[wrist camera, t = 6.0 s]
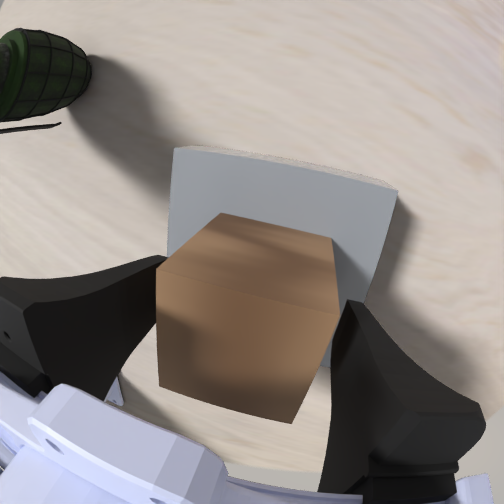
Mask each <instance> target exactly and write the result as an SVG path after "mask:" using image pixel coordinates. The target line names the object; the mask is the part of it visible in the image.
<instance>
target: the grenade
mask: <svg viewBox="0 0 504 504" xmlns="http://www.w3.org/2000/svg"><path fill="white" fill-rule="evenodd" d="M90 78H91V65H90V62H89V61H88V59H87V56H86V54H85V52H84V51H83V50H82V49H81V48H80V47H78V46H77V45H75V44H74V43H72V42H71V41H69V40H68V39H66V38H64V37H61V36H58V35H54V34H51V33H48V32H45V31H42V30H29V29H23V28H16V29H14V30H12V31H10V32H8V33H6V34H5V35H4V36H3V37H2V38H1V39H0V122H9V121H20V120H22V119H26V118H31V117H36V116H44V115H46V114H49V113H51V112H54V111H56V110H59V109H61V108H64V107H67V106H68V105H70V104H71V103H72V102H73V101H74V100H75V99H76V98H77V97H79V96H80V95H81V94H82V93H83V92H84V91H85V90H86V88H87V86H88V84H89V81H90ZM60 124H61V122H59V123H56V124H46V125H34V126H24V127H15V128H7V129H0V134H3V133H10V132H18V131H27V130H36V129H48V128H52V127H55V126H58V125H60Z"/></svg>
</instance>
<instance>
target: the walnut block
mask: <svg viewBox="0 0 504 504" xmlns="http://www.w3.org/2000/svg"><path fill="white" fill-rule="evenodd" d="M339 317H340V309H339V299H338V289H337V280H336V271H335V263H334V255H333V247H332V240H331V238H329V237H325V236H321V235H317V234H313V233H309V232H304V231H300V230H296V229H292V228H288V227H283V226H279V225H275V224H270V223H266V222H261V221H257V220H253V219H248V218H244V217H239V216H235V215H230V214H225V213H220V214H218V215H217V216H216V217H215V218H214V219H212V220H211V221H210V222H209V223H208V224H207V225H205V226H204V227H203V228H202V229H201V230H200V231H199V232H197V233H196V234H195V235H194V236H193V237H192V238H190V239H189V240H188V241H187V242H186V243H185V244H184V245H182V246H181V247H180V248H179V249H178V250H177V251H176V252H175V253H173V254H172V255H171V256H170V257H169V258H168V259H167V260H166V261H164V262H163V263H162V264H161V265H160V266H159V267H158V268H157V269H156V332H157V357H158V375H159V386H160V387H163V388H165V389H168V390H171V391H174V392H176V393H179V394H182V395H185V396H188V397H191V398H194V399H197V400H200V401H203V402H206V403H210V404H213V405H216V406H219V407H223V408H226V409H230V410H234V411H237V412H241V413H245V414H249V415H253V416H257V417H261V418H265V419H270V420H274V421H279V422H284V423H288V424H292V422H293V420H294V418H295V416H296V414H297V412H298V410H299V408H300V406H301V404H302V402H303V400H304V398H305V396H306V394H307V392H308V390H309V387H310V385H311V383H312V381H313V379H314V377H315V374H316V372H317V370H318V368H319V365H320V363H321V361H322V359H323V356H324V354H325V352H326V349H327V347H328V345H329V342H330V340H331V337H332V335H333V332H334V330H335V327H336V325H337V322H338V320H339Z"/></svg>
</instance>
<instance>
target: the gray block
mask: <svg viewBox="0 0 504 504" xmlns="http://www.w3.org/2000/svg"><path fill="white" fill-rule="evenodd" d="M397 194H398V190H396V189H395V188H393V187H392V186H391V185H389V184H388V183H386V182H385V181H383V180H379V179H375V178H372V177H368V176H364V175H360V174H356V173H352V172H348V171H344V170H339V169H335V168H331V167H326V166H322V165H317V164H312V163H308V162H303V161H298V160H293V159H287V158H282V157H276V156H271V155H265V154H259V153H253V152H247V151H240V150H233V149H226V148H219V147H211V146H203V145H194V146H185V147H176V148H174V154H173V164H172V175H171V188H170V202H169V219H168V240H167V257H170V256H171V255H172V254H173V253H175V252H176V251H177V250H178V249H179V248H180V247H181V246H182V245H184V244H185V243H186V242H187V241H188V240H189V239H190V238H192V237H193V236H194V235H195V234H196V233H197V232H199V231H200V230H201V229H202V228H203V227H204V226H205V225H207V224H208V223H209V222H210V221H211V220H212V219H214V218H215V217H216V216H217V215H218V214H220V213H225V214H230V215H235V216H239V217H244V218H248V219H253V220H257V221H261V222H266V223H270V224H275V225H279V226H283V227H288V228H292V229H296V230H300V231H304V232H309V233H313V234H317V235H321V236H325V237H329V238H331V240H332V247H333V255H334V263H335V271H336V280H337V289H338V299H339V309H340V317H339V320H338V322H337V325H336V327H335V330H334V332H333V335H332V337H331V340H330V342H329V345H328V347H327V349H326V352H325V354H324V356H323V359H322V361H321V363H320V365H319V366H324V367H329V368H330V358H331V347H332V339H333V336H334V334H335V331H336V329H337V326H338V323H339V321H340V318H341V315H342V312H343V310H344V307H345V304H346V301H347V299H349V300H354V301H358V302H362V303H363V304H364V301H365V298H366V296H367V293H368V290H369V287H370V284H371V282H372V279H373V276H374V273H375V270H376V267H377V264H378V261H379V258H380V254H381V251H382V248H383V245H384V242H385V238H386V235H387V231H388V228H389V225H390V221H391V217H392V214H393V210H394V206H395V202H396V198H397Z"/></svg>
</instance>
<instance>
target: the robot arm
mask: <svg viewBox="0 0 504 504" xmlns="http://www.w3.org/2000/svg"><path fill="white" fill-rule="evenodd" d="M168 258H169V257H165V256H161V255H155V256H150V257H147V258H143V259H140V260H136V261H133V262H130V263H127V264H124V265H120V266H117V267H113V268H110V269H106V270H102V271H99V272H94V273H90V274H85V275H79V276H73V277H63V278H53V279H24V278H12V277H1V278H0V466H1V467H2V468H3V469H4V471H2V469H1V468H0V504H494V502H493V497H492V491H491V486H490V482H489V477H488V474H487V473H484V474H479V475H474V476H468V477H464V478H461V479H459V480H457V481H455V478H454V473H456V472H457V471H458V470H459V466H458V460H459V459H460V458H461V457H462V456H464V455H465V454H466V453H467V451H469V450H470V449H471V448H472V447H473V446H474V445H475V444H476V443H477V442H478V441H479V440H480V438H481V437H482V435H483V433H484V431H485V428H486V422H485V419H484V416H483V414H482V411H481V408H480V405H479V403H477V402H475V401H473V400H471V399H469V398H467V397H465V396H463V395H461V394H459V393H457V392H455V391H453V390H452V389H450V388H449V387H447V386H445V385H444V384H442V383H441V382H439V381H438V380H436V379H435V378H433V377H432V376H431V375H430V374H428V373H427V372H426V371H424V370H423V369H422V368H421V367H419V366H418V365H417V364H416V363H415V362H414V361H413V360H412V359H411V358H409V357H408V356H407V355H406V354H405V353H404V352H403V351H402V350H401V349H400V348H399V347H398V345H397V344H396V343H395V342H394V341H393V340H392V339H391V338H390V336H389V335H388V334H387V333H386V332H385V330H384V329H383V328H382V327H381V325H380V324H379V323H378V322H377V320H376V319H375V318H374V316H373V315H372V314H371V313H370V311H369V310H368V309H367V308H366V306H365V305H364V304H363V303H362V302H358V301H354V300H349V299H347V301H346V304H345V307H344V310H343V312H342V315H341V318H340V321H339V323H338V326H337V329H336V331H335V334H334V336H333V339H332V347H331V358H330V369H331V403H332V407H331V421H330V429H329V437H328V443H327V450H326V456H325V461H324V466H323V470H322V475H321V480H320V484H319V487H318V491H317V492H310V491H302V490H295V489H288V488H282V487H276V486H270V485H265V484H260V483H255V482H251V481H246V480H242V479H238V478H234V477H230V476H228V471H227V469H226V467H225V464H224V462H223V461H222V459H221V458H220V457H219V456H217V455H216V454H215V453H213V452H212V451H211V450H209V449H208V448H207V447H206V446H204V445H202V444H200V443H198V442H196V441H193V440H191V439H189V438H187V437H185V436H183V435H181V434H178V433H175V432H172V431H170V430H167V429H164V428H162V427H159V426H157V425H154V424H152V423H149V422H147V421H145V420H142V419H140V418H137V417H135V416H133V415H131V414H128V413H126V412H124V411H122V410H120V409H118V408H116V407H113V406H111V405H109V404H107V403H105V402H106V401H107V400H108V401H111V402H113V403H115V404H117V405H119V406H123V404H124V402H123V398H122V394H121V390H120V386H119V382H118V378H117V375H118V373H119V372H120V370H121V368H122V367H123V365H124V364H125V362H126V360H127V359H128V357H129V356H130V354H131V353H132V352H133V350H134V349H135V348H136V347H137V345H138V344H139V343H140V342H141V341H142V339H143V338H144V337H145V336H146V334H147V333H148V332H149V331H150V330H151V328H152V327H153V326H154V325H155V323H156V269H157V268H158V267H159V266H160V265H161V264H162V263H163V262H164V261H166V260H167V259H168Z"/></svg>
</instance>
